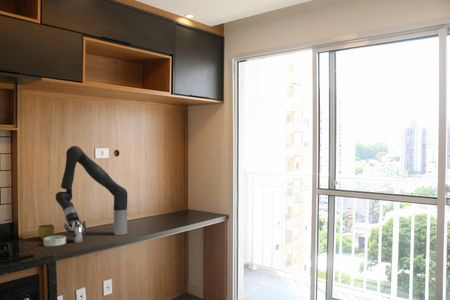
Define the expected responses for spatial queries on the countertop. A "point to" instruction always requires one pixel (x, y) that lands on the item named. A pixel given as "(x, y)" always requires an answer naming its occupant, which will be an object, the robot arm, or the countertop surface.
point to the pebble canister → (78, 234)
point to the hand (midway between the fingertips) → (79, 235)
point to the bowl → (55, 240)
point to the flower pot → (46, 231)
